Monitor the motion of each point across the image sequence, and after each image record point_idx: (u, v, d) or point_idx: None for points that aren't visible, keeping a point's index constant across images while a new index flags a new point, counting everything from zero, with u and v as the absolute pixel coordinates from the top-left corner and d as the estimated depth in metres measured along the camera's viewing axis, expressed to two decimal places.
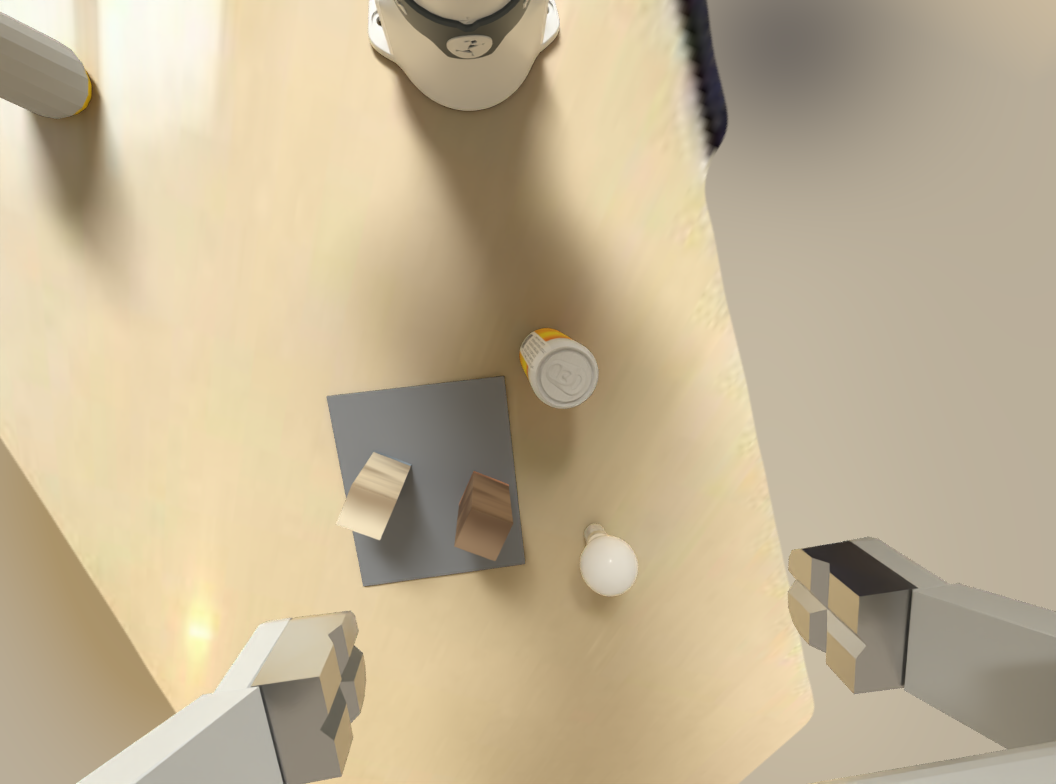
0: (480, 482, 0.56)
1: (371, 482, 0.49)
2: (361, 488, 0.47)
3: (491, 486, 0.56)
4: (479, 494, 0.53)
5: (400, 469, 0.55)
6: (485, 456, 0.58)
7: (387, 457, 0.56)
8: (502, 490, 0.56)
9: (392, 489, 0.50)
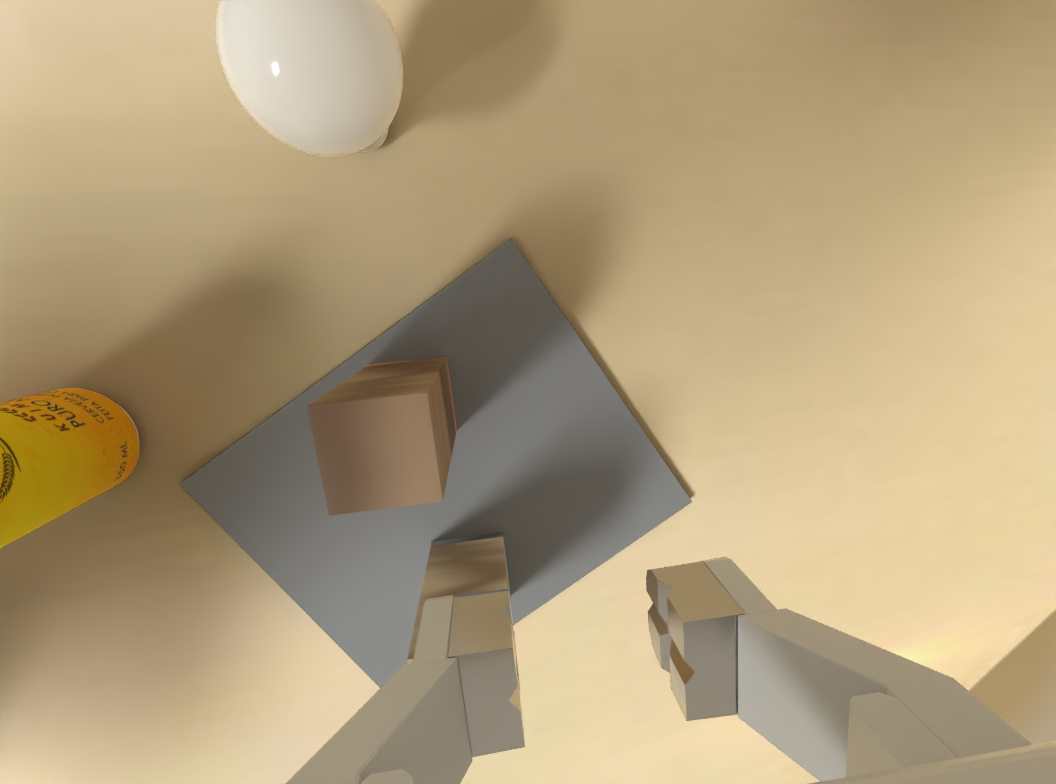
0: None
1: None
2: None
3: None
4: None
5: None
6: None
7: None
8: None
9: None
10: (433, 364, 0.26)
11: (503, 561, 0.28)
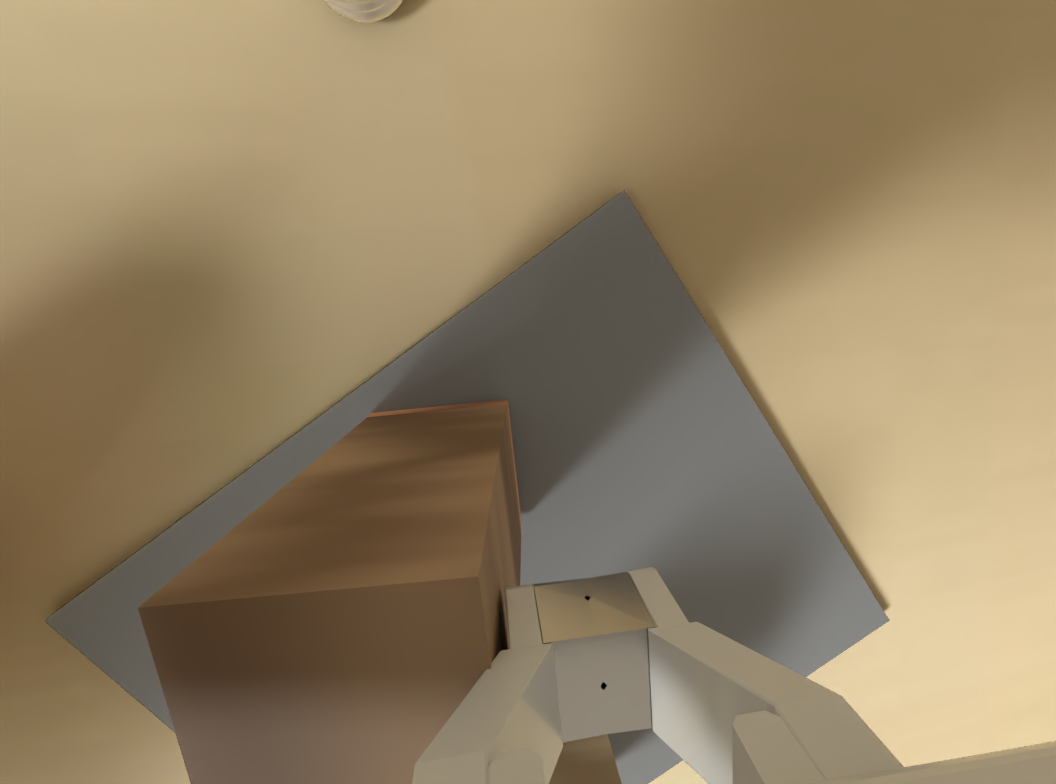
0: None
1: None
2: None
3: None
4: None
5: None
6: None
7: None
8: None
9: None
10: (485, 423, 0.14)
11: (611, 757, 0.16)
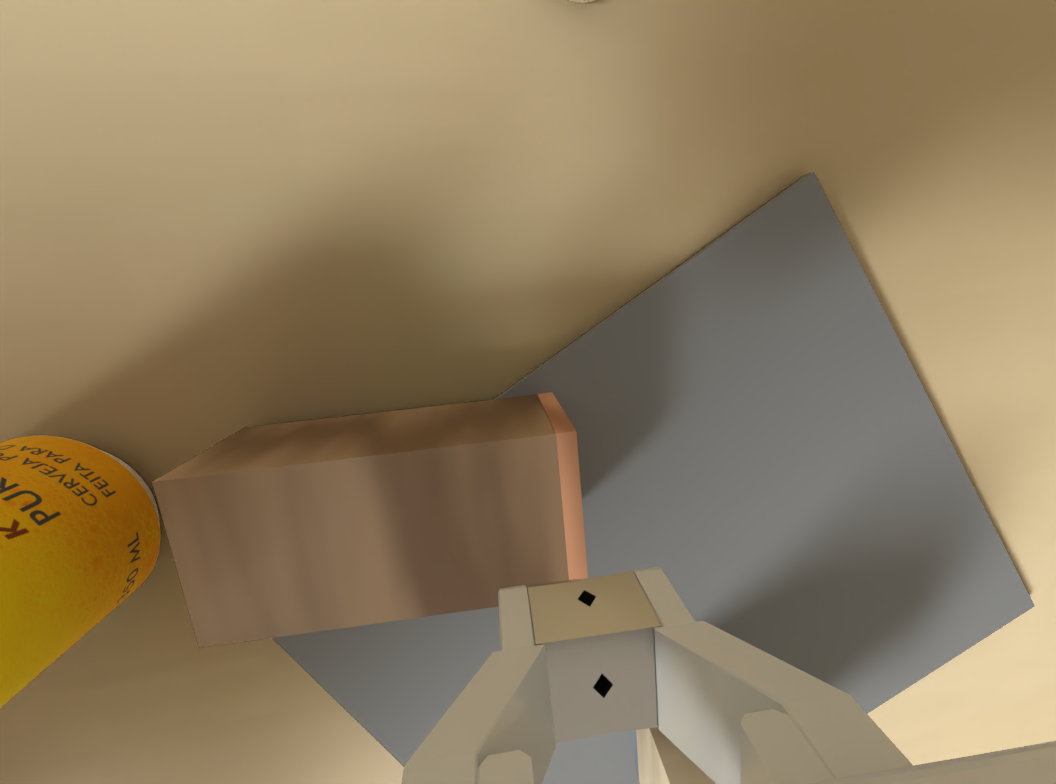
0: None
1: None
2: None
3: None
4: None
5: (651, 753, 0.17)
6: None
7: (637, 748, 0.19)
8: None
9: None
10: (468, 438, 0.12)
11: None
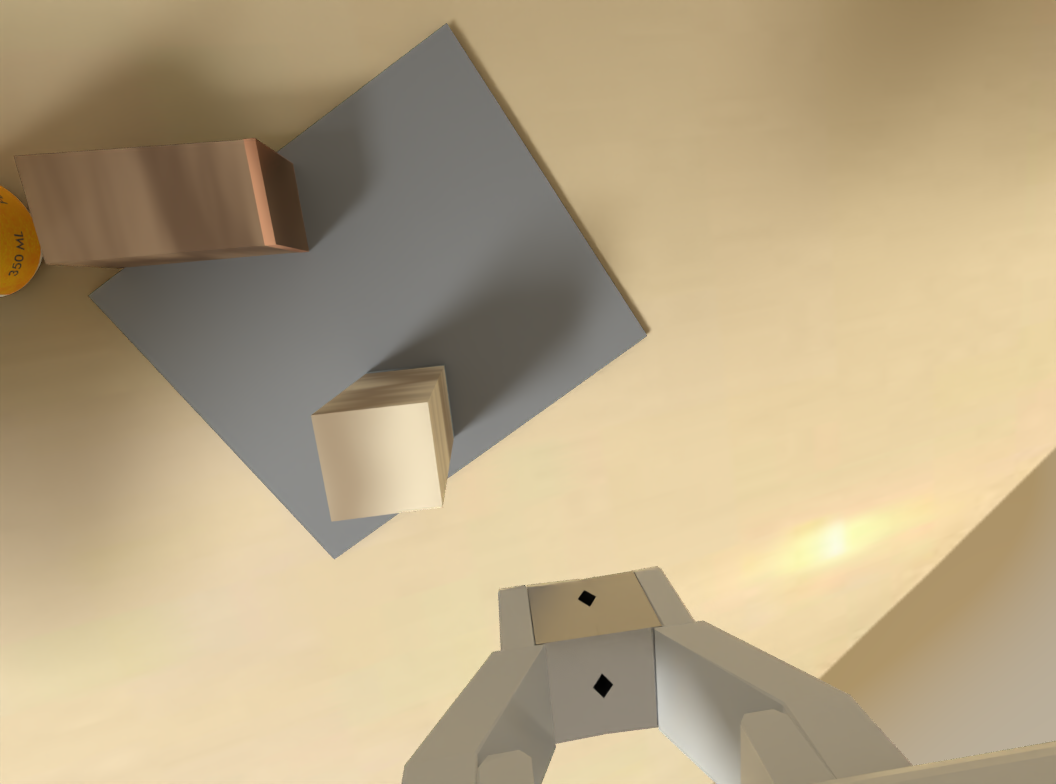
0: None
1: None
2: (327, 498, 0.20)
3: None
4: None
5: None
6: None
7: None
8: None
9: None
10: None
11: (438, 374, 0.26)
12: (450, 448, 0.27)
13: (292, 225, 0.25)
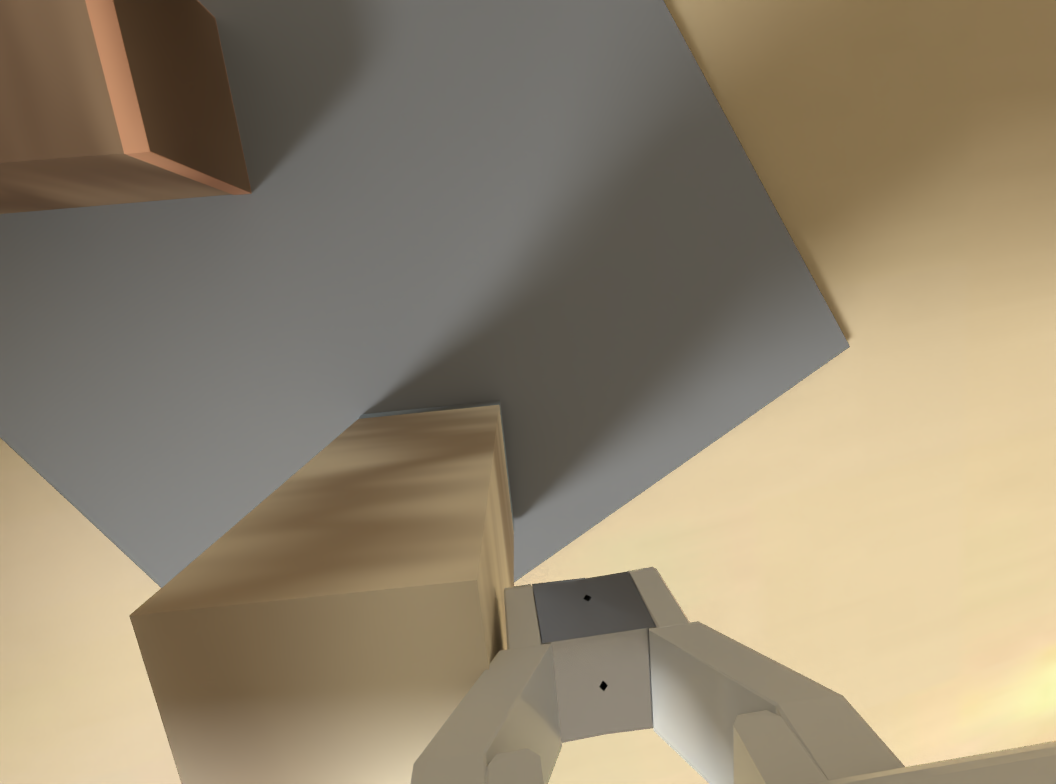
0: None
1: None
2: None
3: None
4: None
5: None
6: None
7: None
8: None
9: None
10: None
11: (492, 431, 0.13)
12: (512, 571, 0.14)
13: (206, 131, 0.12)
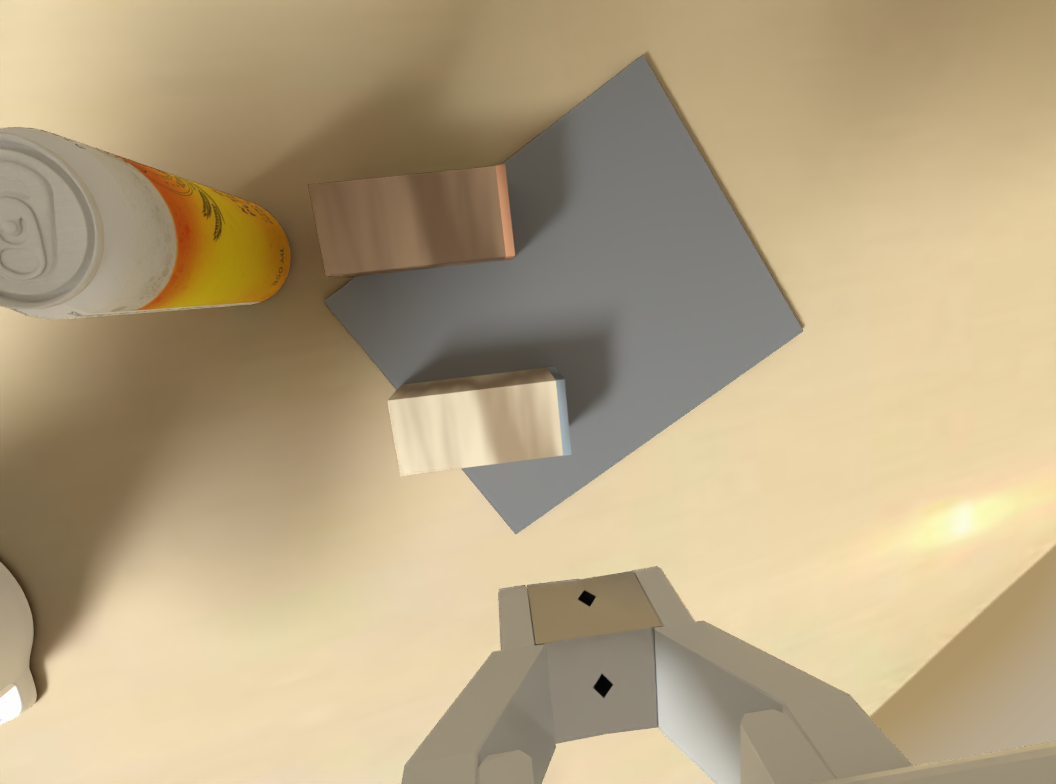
0: None
1: None
2: None
3: None
4: None
5: None
6: None
7: None
8: None
9: None
10: None
11: (506, 386, 0.28)
12: (515, 456, 0.29)
13: None
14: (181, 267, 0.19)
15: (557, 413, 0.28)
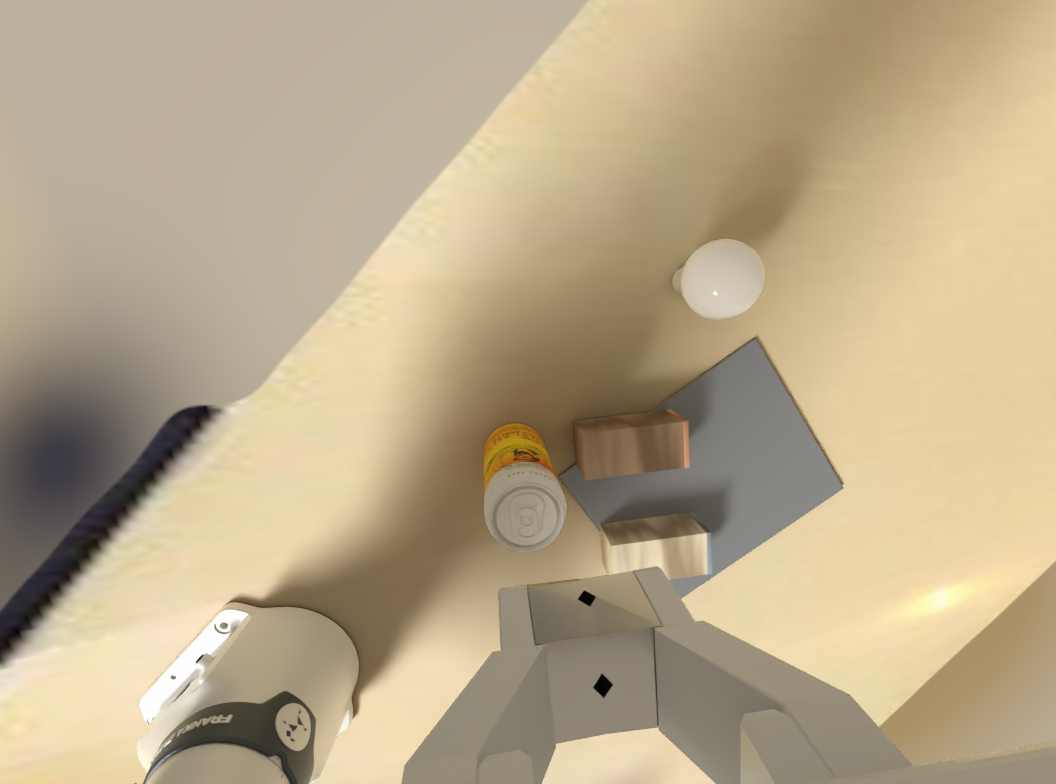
0: None
1: None
2: (602, 554, 0.52)
3: None
4: None
5: None
6: None
7: None
8: None
9: None
10: (658, 423, 0.45)
11: (678, 536, 0.48)
12: (679, 575, 0.48)
13: None
14: None
15: (706, 551, 0.48)
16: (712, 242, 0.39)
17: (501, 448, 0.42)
